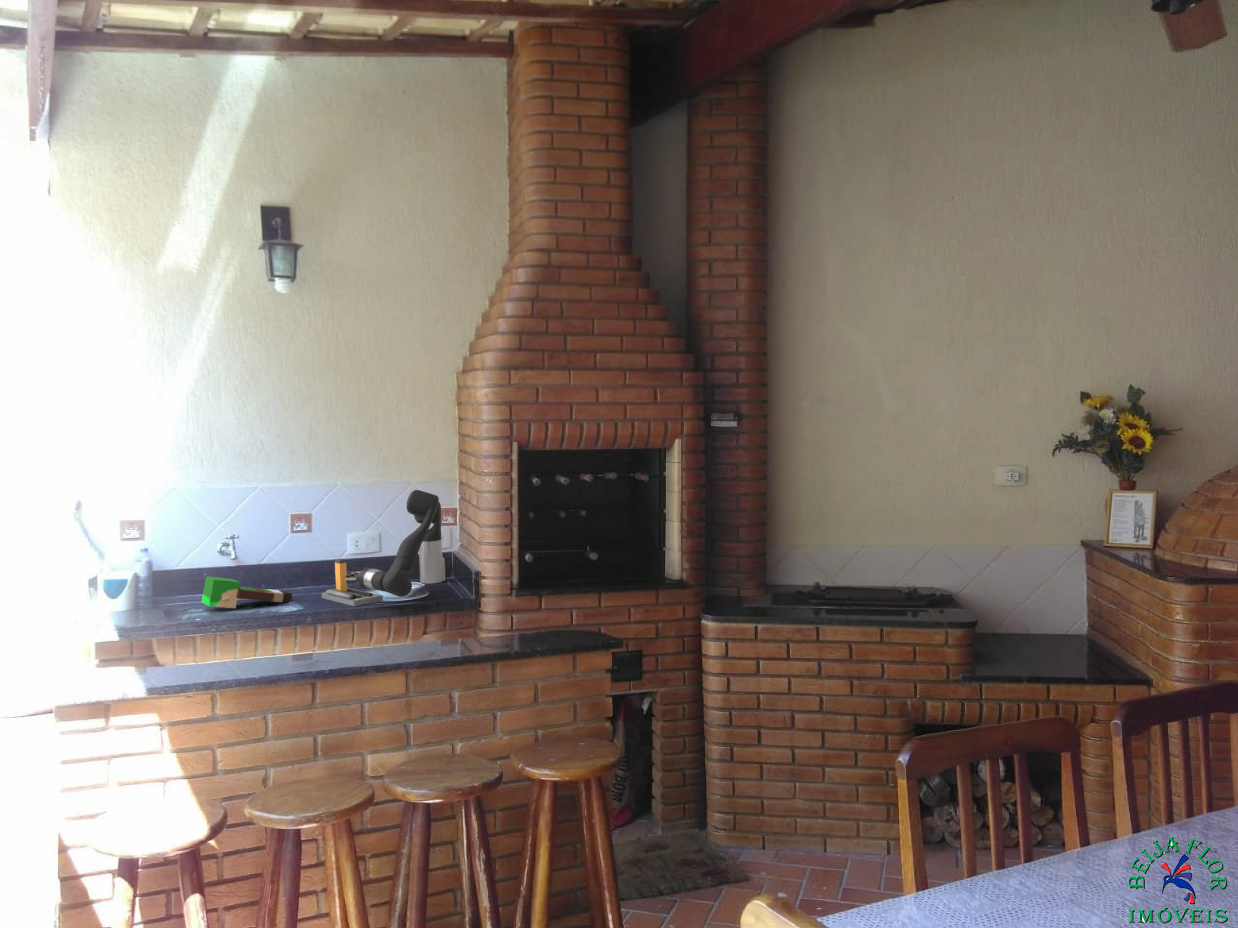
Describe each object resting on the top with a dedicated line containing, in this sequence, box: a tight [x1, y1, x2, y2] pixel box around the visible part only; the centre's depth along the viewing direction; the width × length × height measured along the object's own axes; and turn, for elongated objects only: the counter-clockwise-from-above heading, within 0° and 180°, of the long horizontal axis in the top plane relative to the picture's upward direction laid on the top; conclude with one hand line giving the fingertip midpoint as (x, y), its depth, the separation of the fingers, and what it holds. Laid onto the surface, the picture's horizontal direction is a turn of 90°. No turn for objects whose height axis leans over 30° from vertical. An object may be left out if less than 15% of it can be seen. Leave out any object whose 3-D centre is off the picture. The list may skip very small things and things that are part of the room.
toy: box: [201, 575, 293, 610], centre depth 395 cm, size 15×11×30 cm
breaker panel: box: [321, 586, 384, 607], centre depth 402 cm, size 12×24×4 cm, turn 44°
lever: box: [334, 558, 348, 591], centre depth 407 cm, size 3×4×12 cm
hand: (348, 574), depth 402 cm, fingers closed
